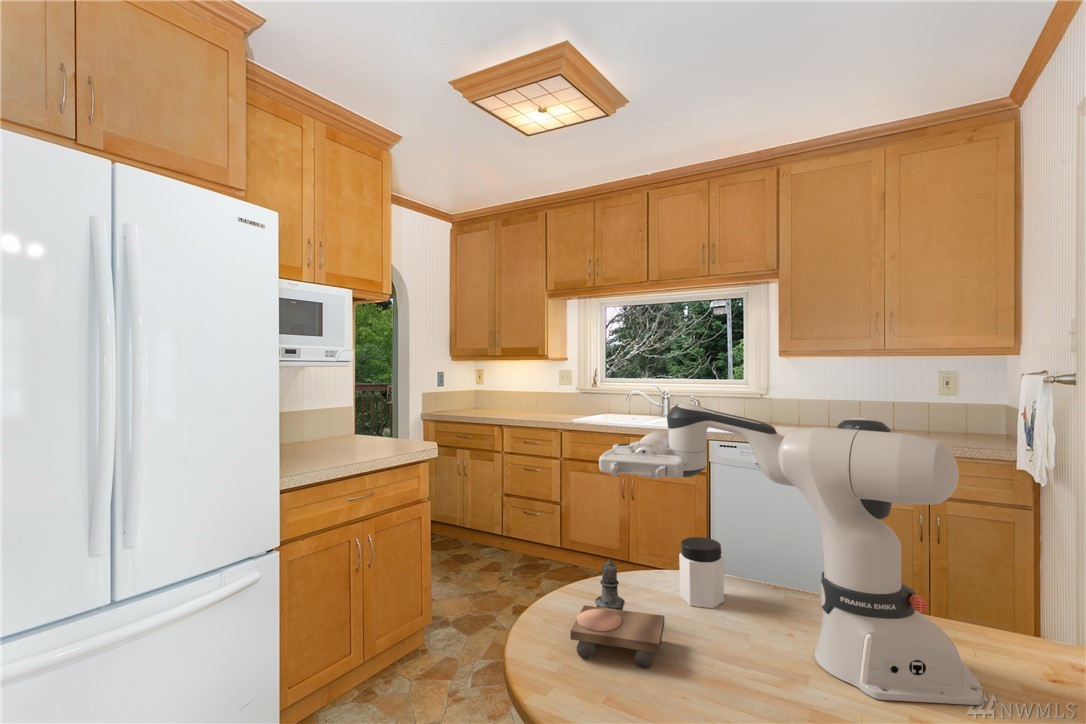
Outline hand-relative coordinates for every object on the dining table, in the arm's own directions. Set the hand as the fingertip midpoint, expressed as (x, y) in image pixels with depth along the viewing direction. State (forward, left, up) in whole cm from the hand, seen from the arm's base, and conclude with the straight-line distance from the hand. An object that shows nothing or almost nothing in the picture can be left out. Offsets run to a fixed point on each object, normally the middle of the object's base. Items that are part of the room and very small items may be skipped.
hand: (633, 473), depth 123 cm
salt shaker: (+2, +19, -25) cm, 32 cm away
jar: (-15, +5, -25) cm, 30 cm away
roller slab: (-1, +29, -25) cm, 38 cm away
